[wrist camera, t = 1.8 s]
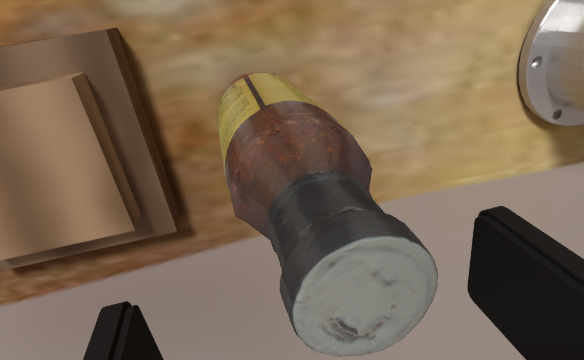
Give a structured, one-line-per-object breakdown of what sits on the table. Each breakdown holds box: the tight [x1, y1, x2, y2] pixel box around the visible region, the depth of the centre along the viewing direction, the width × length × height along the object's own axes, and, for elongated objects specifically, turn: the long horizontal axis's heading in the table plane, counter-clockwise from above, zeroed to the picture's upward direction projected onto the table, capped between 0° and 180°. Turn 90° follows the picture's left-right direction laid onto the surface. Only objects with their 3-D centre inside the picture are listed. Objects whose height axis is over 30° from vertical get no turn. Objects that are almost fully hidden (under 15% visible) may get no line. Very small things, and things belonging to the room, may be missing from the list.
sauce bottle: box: [217, 73, 438, 356], centre depth 18 cm, size 7×6×20 cm
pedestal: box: [0, 28, 180, 271], centre depth 23 cm, size 14×14×4 cm
